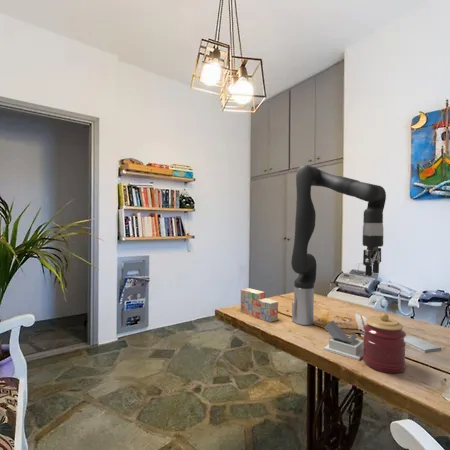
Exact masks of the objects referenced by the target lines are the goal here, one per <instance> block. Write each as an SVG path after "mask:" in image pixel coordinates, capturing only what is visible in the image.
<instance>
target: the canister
mask: <svg viewBox="0 0 450 450" xmlns="http://www.w3.org/2000/svg"><path fill="white" fill-rule="evenodd" d="M365 322H366V324H365V325H363V330H364V334H363V337H362V338H363V341H364V352H363V357H362V358H363V362H364V364H366V365H367V366H368V367H370V368H371V369H374V370H376V371H379V372H383V373H388V374H398V373H402V372H403V371H405V368H406V363H407V361H406V346H407V344H406V343H405V341H404V337H407V333H406V332H405V330H403V329H404V325H403V324H402V323H400V322H399V321H398V320H397V319H394V318H391V317H389V315H388V314H387V313H386V312H385V313H384V312H382V313H380V316H379V315H377V316H371V317H370V318H368V319H366V320H365Z"/></svg>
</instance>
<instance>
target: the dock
mask: <svg viewBox="0 0 450 450" xmlns="http://www.w3.org/2000/svg"><path fill="white" fill-rule="evenodd" d="M348 337H349V338H350V337H351V336H348ZM323 351H327V352H330V353H334V354H335V355H336V354H337V355H340V356H343V357H346V358H350V359H352V360H354V361H361V359H362V358H363V352H364V339H359V338H356V339H355V340H354V341H353V342H352V343H350V344H345V343H342V342H338V341H335V339H334V338H333V337H331V338H330V339H328V344H326V345H325V346H324V347H323Z"/></svg>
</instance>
